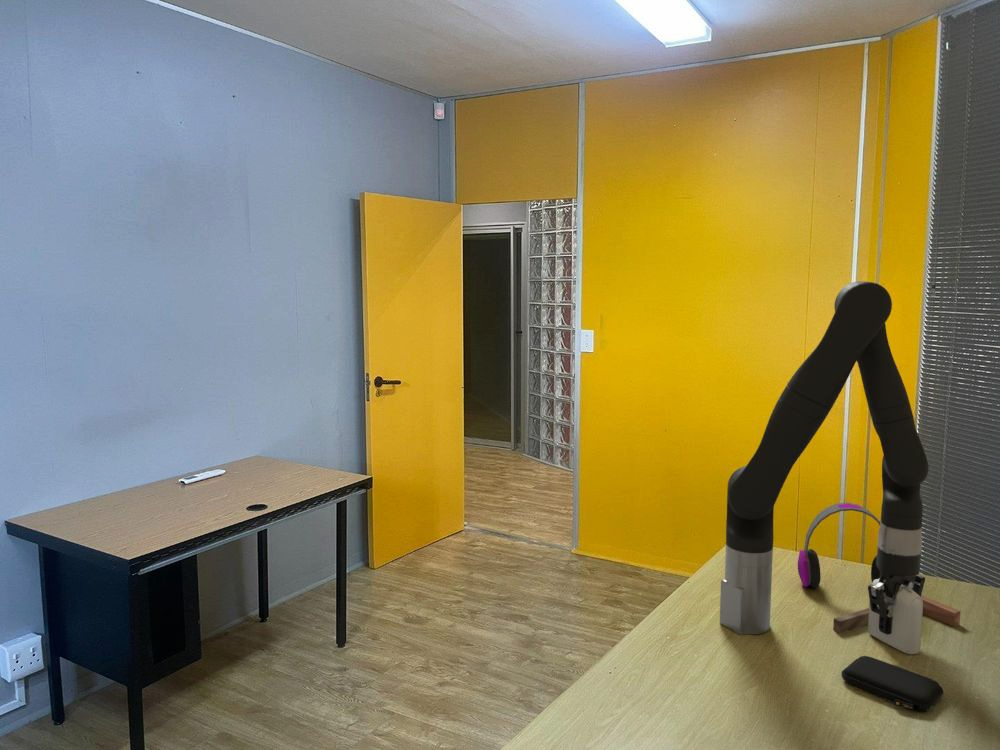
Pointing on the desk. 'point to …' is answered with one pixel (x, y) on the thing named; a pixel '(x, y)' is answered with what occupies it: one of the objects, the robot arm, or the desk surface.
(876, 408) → the robot arm
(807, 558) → the headphones
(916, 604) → the photo printer
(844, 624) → the brown l-shaped block
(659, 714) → the desk surface
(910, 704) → the carrying case or bag
